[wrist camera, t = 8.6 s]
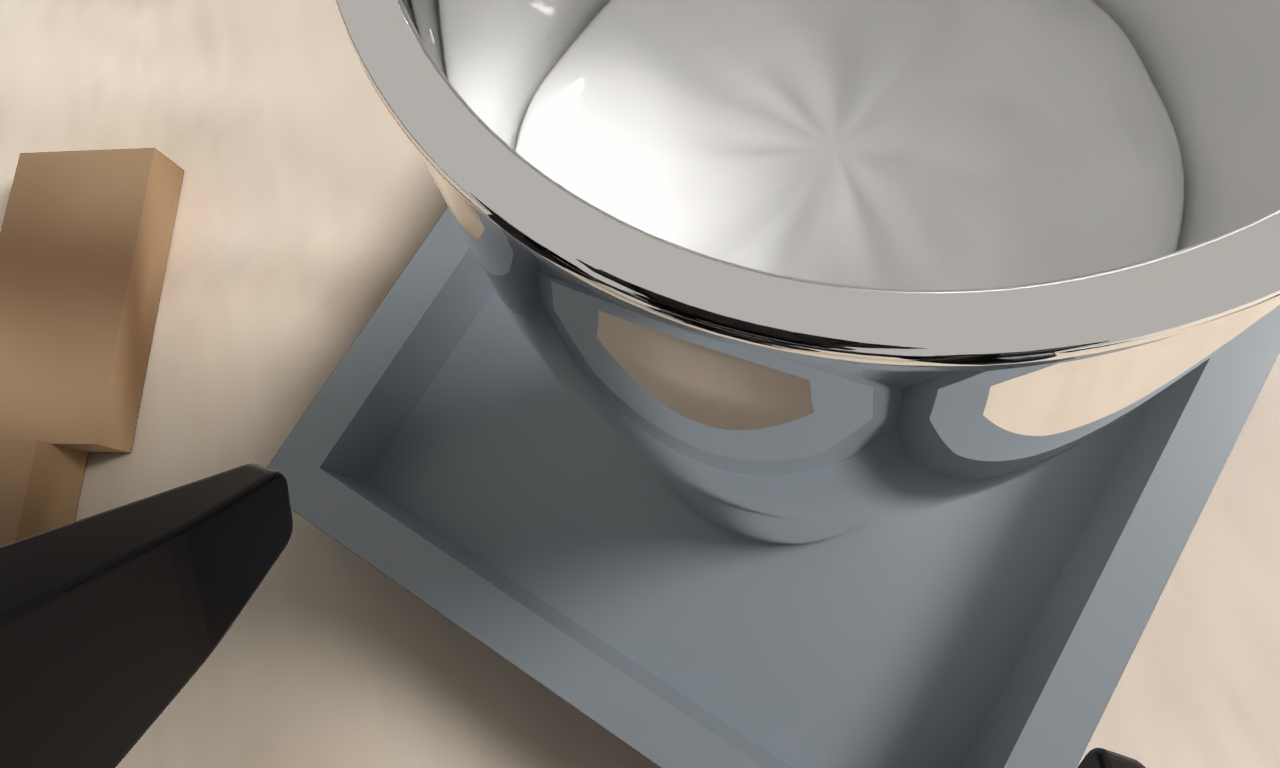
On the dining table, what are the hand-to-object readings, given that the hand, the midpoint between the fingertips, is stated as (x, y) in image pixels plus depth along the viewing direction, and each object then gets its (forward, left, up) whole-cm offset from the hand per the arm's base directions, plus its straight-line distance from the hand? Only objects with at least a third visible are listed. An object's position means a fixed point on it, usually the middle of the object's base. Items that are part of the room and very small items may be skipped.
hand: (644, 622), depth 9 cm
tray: (+5, +1, -10) cm, 11 cm away
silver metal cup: (+5, +1, -9) cm, 11 cm away
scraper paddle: (-4, +17, -10) cm, 20 cm away
